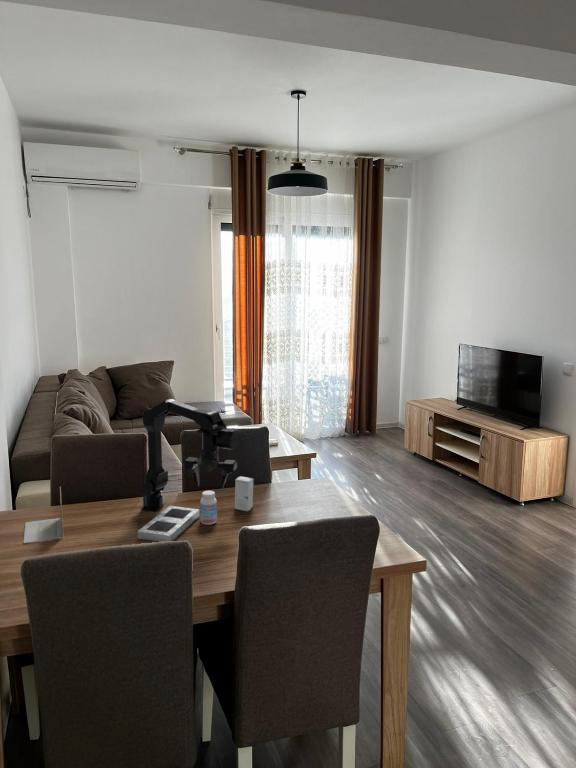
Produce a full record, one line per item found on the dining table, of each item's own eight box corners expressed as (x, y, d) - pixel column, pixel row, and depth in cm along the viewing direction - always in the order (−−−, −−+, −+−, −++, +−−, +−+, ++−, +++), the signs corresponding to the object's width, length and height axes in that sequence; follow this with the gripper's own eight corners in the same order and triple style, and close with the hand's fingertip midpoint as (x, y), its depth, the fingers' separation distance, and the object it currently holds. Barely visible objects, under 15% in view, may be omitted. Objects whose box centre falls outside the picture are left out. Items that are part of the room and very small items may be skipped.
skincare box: (234, 509, 226) (234, 479, 223) (239, 505, 230) (239, 475, 228) (248, 511, 223) (248, 481, 221) (253, 507, 227) (253, 478, 225)
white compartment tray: (137, 539, 198) (137, 531, 197) (170, 513, 221) (169, 505, 220) (170, 544, 195) (169, 535, 194) (199, 517, 217) (199, 509, 217)
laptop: (25, 524, 209) (23, 489, 207) (62, 519, 214) (60, 485, 212) (23, 545, 193) (20, 508, 191) (63, 539, 198) (61, 503, 195)
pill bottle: (203, 526, 209) (203, 496, 207) (198, 520, 215) (197, 491, 213) (219, 523, 212) (219, 494, 210) (213, 517, 217) (213, 488, 215)
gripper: (177, 450, 203) (178, 493, 205) (230, 453, 200) (229, 496, 203) (187, 441, 214) (188, 482, 216) (237, 445, 211) (237, 486, 214)
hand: (210, 487), depth 212 cm, fingers open, 9 cm apart
